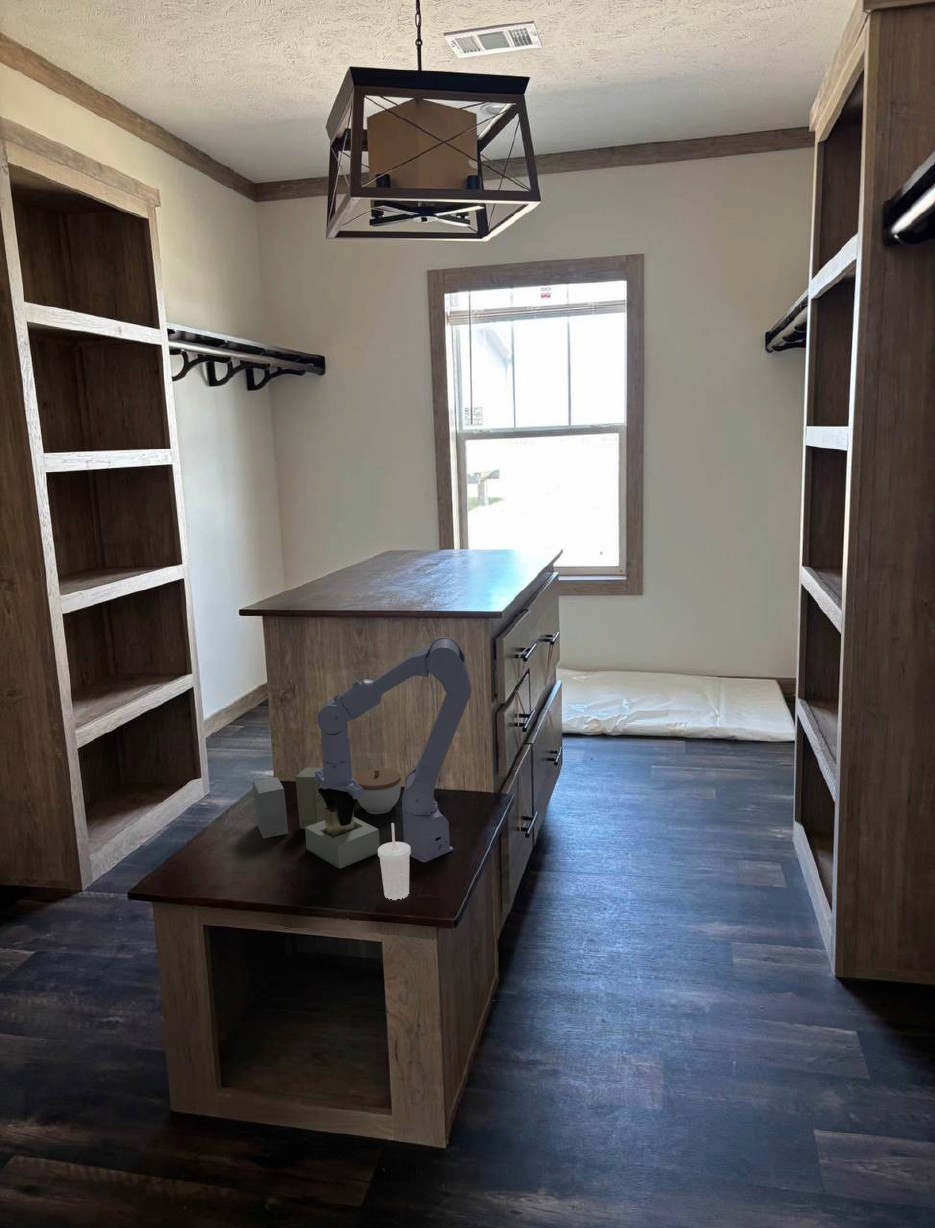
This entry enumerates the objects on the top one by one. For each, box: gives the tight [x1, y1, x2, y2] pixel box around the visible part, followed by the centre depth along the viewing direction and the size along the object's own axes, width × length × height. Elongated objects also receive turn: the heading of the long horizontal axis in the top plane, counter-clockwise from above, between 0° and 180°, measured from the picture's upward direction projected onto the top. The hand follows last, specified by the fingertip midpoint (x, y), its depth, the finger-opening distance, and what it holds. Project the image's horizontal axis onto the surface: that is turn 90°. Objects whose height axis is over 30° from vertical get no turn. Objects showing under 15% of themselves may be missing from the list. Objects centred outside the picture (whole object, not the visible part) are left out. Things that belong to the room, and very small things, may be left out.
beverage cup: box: [377, 822, 411, 901], centre depth 165 cm, size 6×6×14 cm
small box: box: [252, 776, 289, 840], centre depth 195 cm, size 8×6×10 cm
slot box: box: [304, 816, 381, 869], centre depth 184 cm, size 12×10×5 cm
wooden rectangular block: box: [324, 804, 355, 836], centre depth 183 cm, size 3×5×5 cm, turn 132°
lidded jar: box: [353, 767, 402, 815], centre depth 205 cm, size 11×11×9 cm
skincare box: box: [295, 766, 327, 830], centre depth 197 cm, size 6×4×12 cm
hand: (341, 822), depth 184 cm, fingers closed on wooden rectangular block, 3 cm apart
